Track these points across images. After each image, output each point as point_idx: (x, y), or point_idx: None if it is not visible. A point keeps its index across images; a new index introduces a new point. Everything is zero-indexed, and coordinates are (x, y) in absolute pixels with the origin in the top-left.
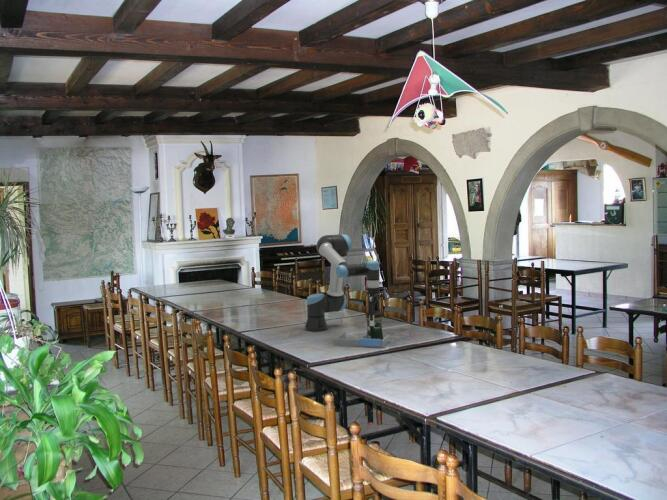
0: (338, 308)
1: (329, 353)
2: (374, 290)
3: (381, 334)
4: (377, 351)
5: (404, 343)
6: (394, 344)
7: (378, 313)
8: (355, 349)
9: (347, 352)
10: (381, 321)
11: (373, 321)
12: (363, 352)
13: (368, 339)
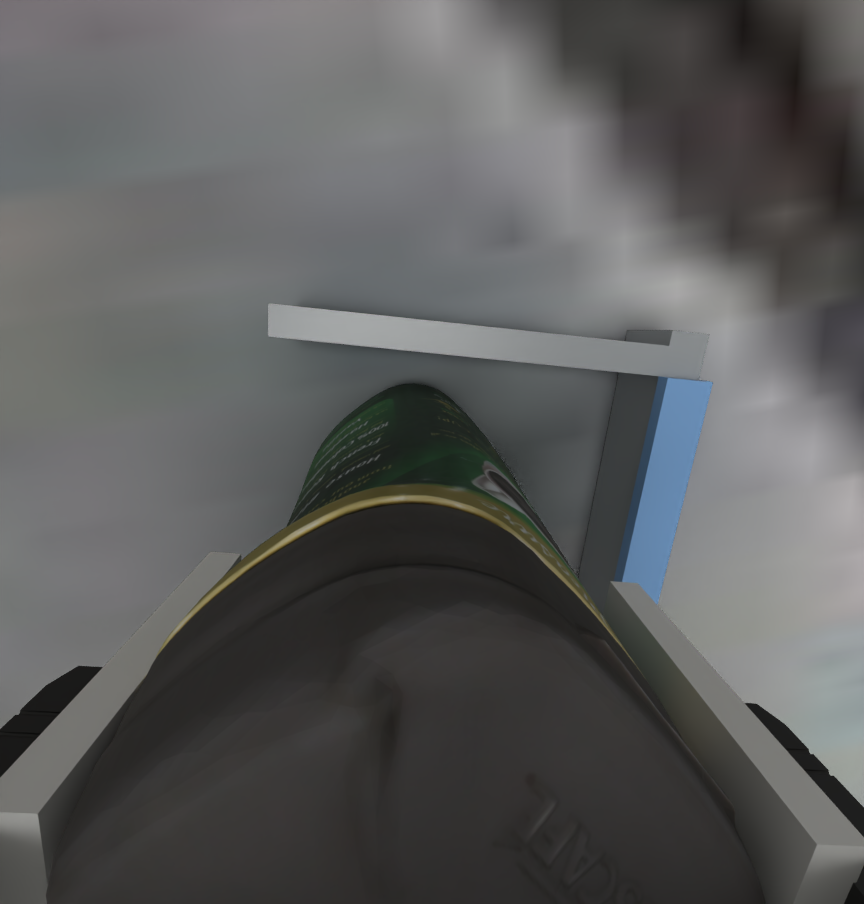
0: None
1: (856, 789)
2: None
3: (452, 413)
4: (829, 378)
5: (389, 69)
6: (464, 217)
7: (590, 741)
8: (719, 618)
9: (837, 661)
10: (416, 477)
11: (694, 663)
12: (857, 518)
13: (668, 550)
